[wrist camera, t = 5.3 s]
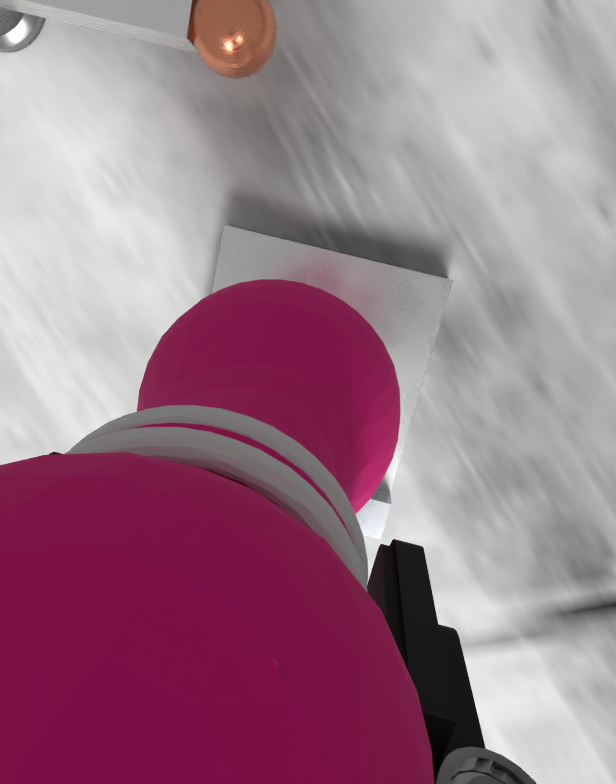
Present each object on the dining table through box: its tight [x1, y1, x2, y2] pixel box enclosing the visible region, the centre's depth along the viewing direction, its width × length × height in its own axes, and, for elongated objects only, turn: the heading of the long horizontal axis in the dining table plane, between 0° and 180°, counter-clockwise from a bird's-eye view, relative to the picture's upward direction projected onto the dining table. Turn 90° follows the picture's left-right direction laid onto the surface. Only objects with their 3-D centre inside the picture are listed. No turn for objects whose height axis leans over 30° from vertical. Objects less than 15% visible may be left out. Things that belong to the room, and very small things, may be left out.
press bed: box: [0, 13, 453, 539], centre depth 23 cm, size 26×26×13 cm
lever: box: [0, 0, 277, 79], centre depth 23 cm, size 16×4×4 cm, turn 77°
